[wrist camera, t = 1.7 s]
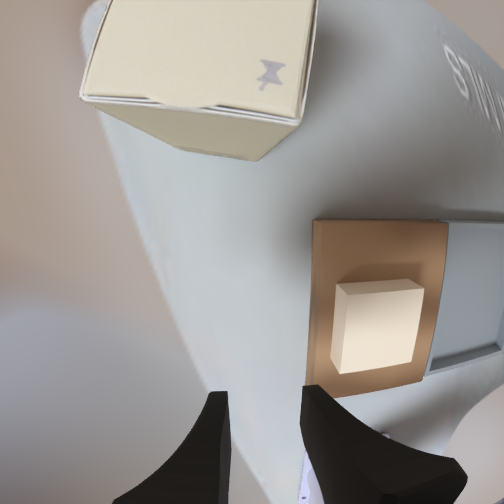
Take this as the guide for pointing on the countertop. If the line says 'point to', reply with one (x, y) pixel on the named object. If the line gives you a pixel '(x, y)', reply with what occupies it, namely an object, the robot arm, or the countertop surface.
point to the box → (204, 71)
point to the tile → (375, 324)
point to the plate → (365, 270)
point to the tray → (470, 297)
